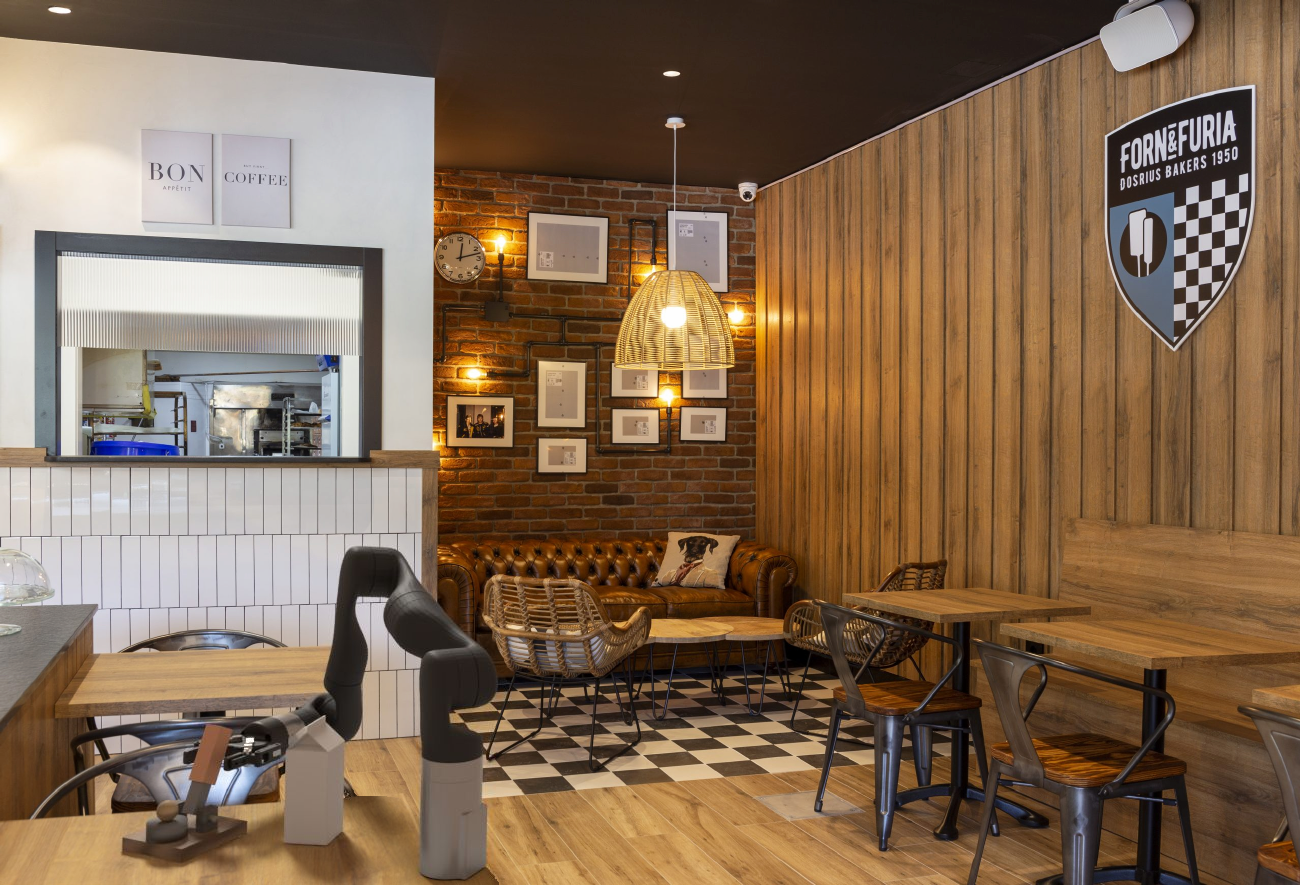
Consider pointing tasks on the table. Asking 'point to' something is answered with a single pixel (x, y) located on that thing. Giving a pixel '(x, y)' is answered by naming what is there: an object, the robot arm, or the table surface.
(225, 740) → the lever
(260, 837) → the table surface
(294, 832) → the milk carton
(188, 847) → the base
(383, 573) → the robot arm
